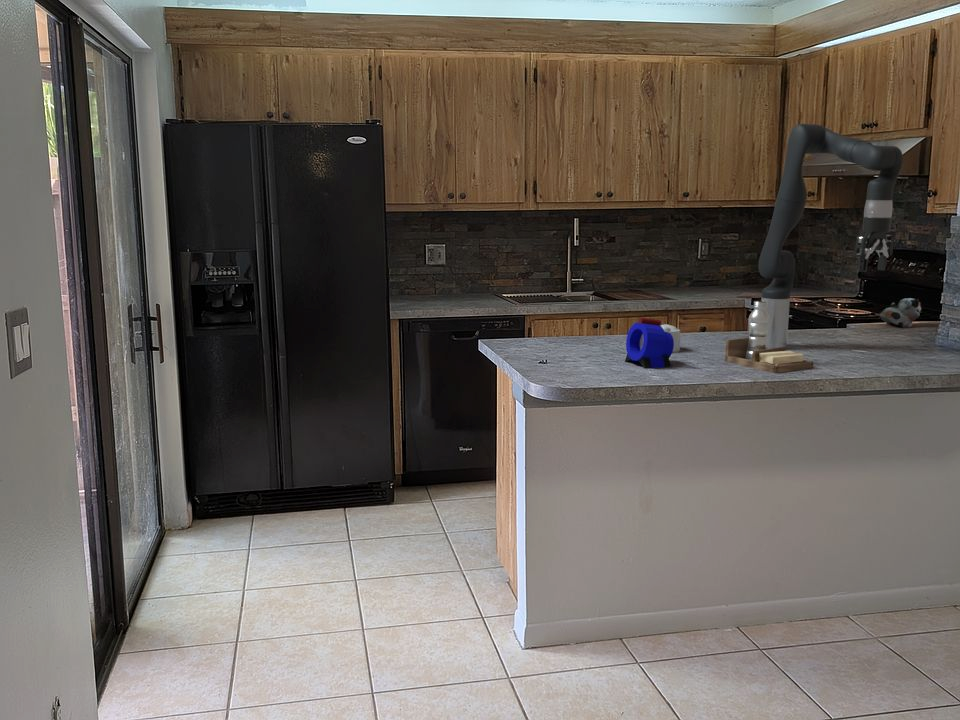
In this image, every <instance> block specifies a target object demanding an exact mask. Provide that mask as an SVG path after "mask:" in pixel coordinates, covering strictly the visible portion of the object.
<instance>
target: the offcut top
mask: <svg viewBox="0 0 960 720" xmlns="http://www.w3.org/2000/svg"><path fill="white" fill-rule="evenodd" d="M759 360H761V361H765V362H768V363H771V364H776V363H788V362H801V361H803V360H804V354H803V353H799V352H795V351H792V350H785V351H780V352H767V353H759Z"/></svg>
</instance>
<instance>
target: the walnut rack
mask: <svg viewBox="0 0 960 720" xmlns="http://www.w3.org/2000/svg"><path fill="white" fill-rule="evenodd" d="M748 343H749V336H747V337H742V338H741V337H739V338H731V339H726V340H725V354H724V355H725V357H724V362H726V363H730V364H733V365H739V366H742V367H743V366H744V367H747V368H751V369H756V370H760V371H763V372H768V373H773V374H779V373H786V372H793V371H799V370H807V369H813V368H814V361H810V360H806V359H803V361H802V363H795V364H788V365H780V366H774V365H770V364H765V363H761V362H760V360H759V353H767V352H780V351H787V350H786V349H787V346H786V347H779V348H771V349H762V350H754V351H753V352H752V360H748V359H746V352H747V350H748Z"/></svg>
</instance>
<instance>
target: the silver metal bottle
mask: <svg viewBox="0 0 960 720" xmlns="http://www.w3.org/2000/svg"><path fill="white" fill-rule="evenodd" d="M766 304H767V302H766V301H761V300H754V301H753V308H754V309H753V310H752V311H751V313H750V314H749V316H748V335H749V336H748V337H749V343H748V350H747V352H746V359H748V360H752V352H753V351H754V350H762V349H767V336H768V329H769V325H770V316H769V314H768V312H767V311H766V308H767V306H766Z"/></svg>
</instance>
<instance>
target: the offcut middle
mask: <svg viewBox="0 0 960 720" xmlns="http://www.w3.org/2000/svg"><path fill="white" fill-rule="evenodd" d="M760 362H761V363H765V364H770V365H774V366H780V365H788V364H795V363H802V361H801V362H788V363H776V364H771V363H768V362H765V361H761V360H760Z"/></svg>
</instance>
